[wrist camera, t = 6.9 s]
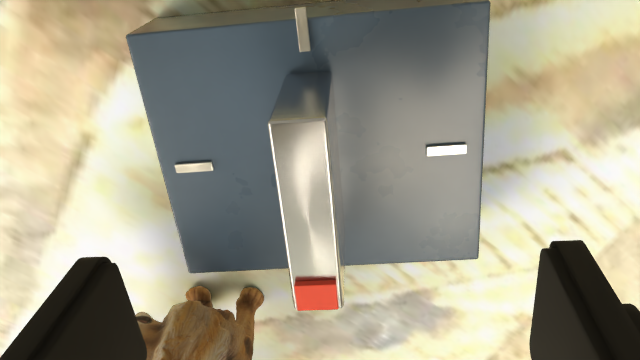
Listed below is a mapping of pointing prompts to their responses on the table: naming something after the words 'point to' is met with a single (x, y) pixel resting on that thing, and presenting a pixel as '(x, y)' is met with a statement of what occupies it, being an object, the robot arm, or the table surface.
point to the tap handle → (310, 188)
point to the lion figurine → (202, 329)
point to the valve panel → (351, 119)
